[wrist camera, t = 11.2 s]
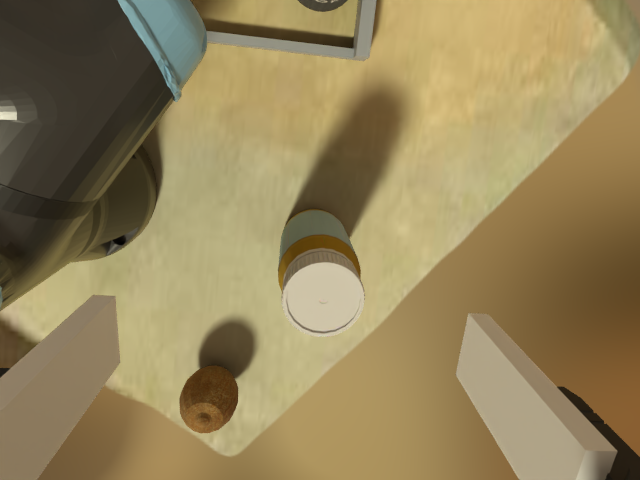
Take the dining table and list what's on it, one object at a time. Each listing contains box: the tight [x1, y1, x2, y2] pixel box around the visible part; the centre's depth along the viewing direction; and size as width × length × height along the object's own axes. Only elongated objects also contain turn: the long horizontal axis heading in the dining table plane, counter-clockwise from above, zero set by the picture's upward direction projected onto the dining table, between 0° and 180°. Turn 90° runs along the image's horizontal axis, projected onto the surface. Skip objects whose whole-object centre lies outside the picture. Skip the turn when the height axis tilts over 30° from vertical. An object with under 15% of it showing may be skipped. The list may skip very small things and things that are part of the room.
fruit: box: [180, 365, 238, 433], centre depth 45 cm, size 6×6×8 cm
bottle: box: [278, 209, 365, 337], centre depth 37 cm, size 7×7×15 cm
